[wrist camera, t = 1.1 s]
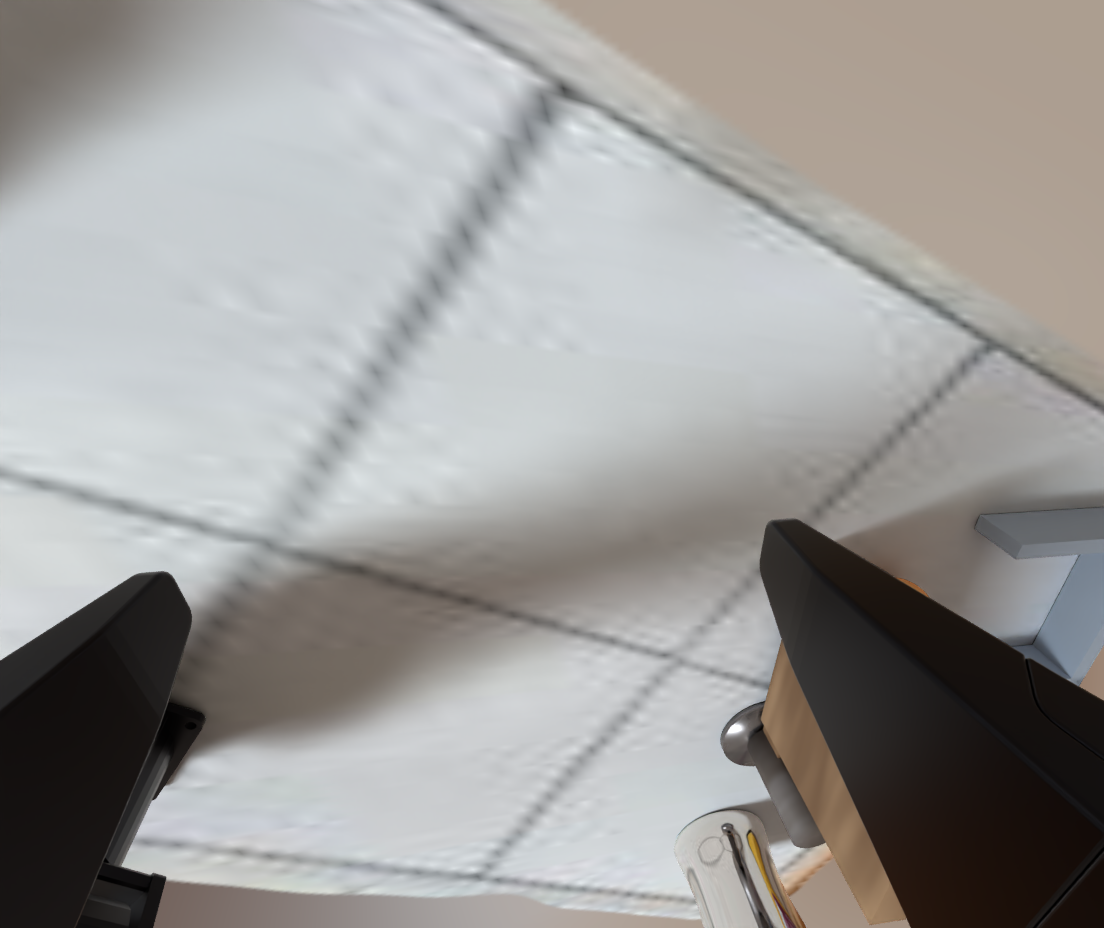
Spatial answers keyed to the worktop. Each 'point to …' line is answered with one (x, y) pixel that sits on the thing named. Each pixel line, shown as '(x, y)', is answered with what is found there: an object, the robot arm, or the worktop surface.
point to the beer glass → (734, 873)
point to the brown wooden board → (816, 793)
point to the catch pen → (1087, 596)
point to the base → (742, 734)
